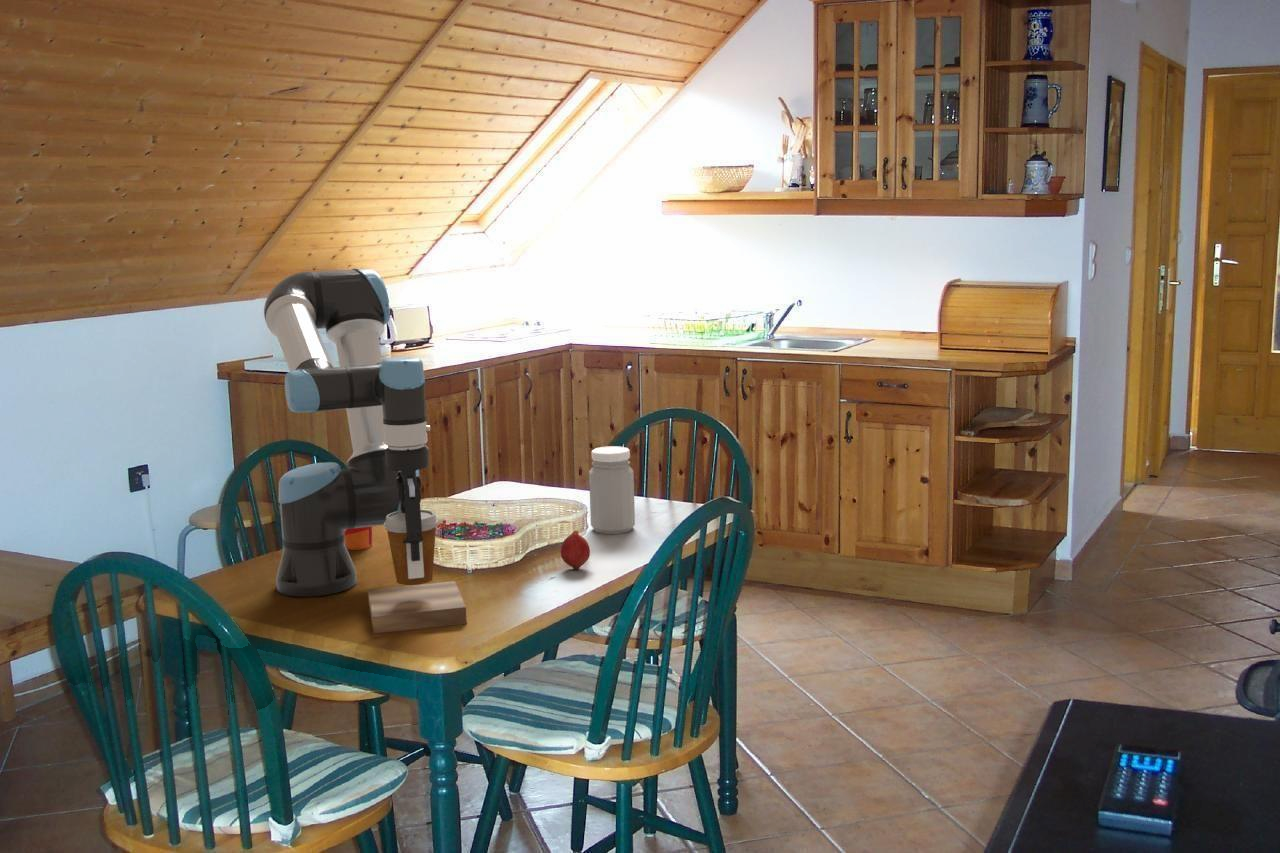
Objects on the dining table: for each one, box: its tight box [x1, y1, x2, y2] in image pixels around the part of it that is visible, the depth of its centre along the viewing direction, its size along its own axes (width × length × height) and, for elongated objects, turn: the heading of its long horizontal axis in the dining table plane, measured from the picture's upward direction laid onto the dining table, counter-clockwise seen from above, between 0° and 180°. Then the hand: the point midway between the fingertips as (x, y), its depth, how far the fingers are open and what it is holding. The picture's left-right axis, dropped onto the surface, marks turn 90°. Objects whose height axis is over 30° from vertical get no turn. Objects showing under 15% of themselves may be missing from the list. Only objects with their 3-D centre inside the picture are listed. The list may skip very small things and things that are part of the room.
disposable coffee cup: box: [383, 508, 439, 586], centre depth 231 cm, size 10×10×12 cm
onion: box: [560, 529, 591, 570], centre depth 258 cm, size 6×6×8 cm
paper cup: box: [344, 526, 373, 551], centre depth 278 cm, size 8×8×14 cm
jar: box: [588, 445, 636, 535], centre depth 286 cm, size 10×10×18 cm
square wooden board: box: [367, 580, 468, 634], centre depth 233 cm, size 16×16×3 cm
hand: (414, 570), depth 232 cm, fingers closed on disposable coffee cup, 8 cm apart
